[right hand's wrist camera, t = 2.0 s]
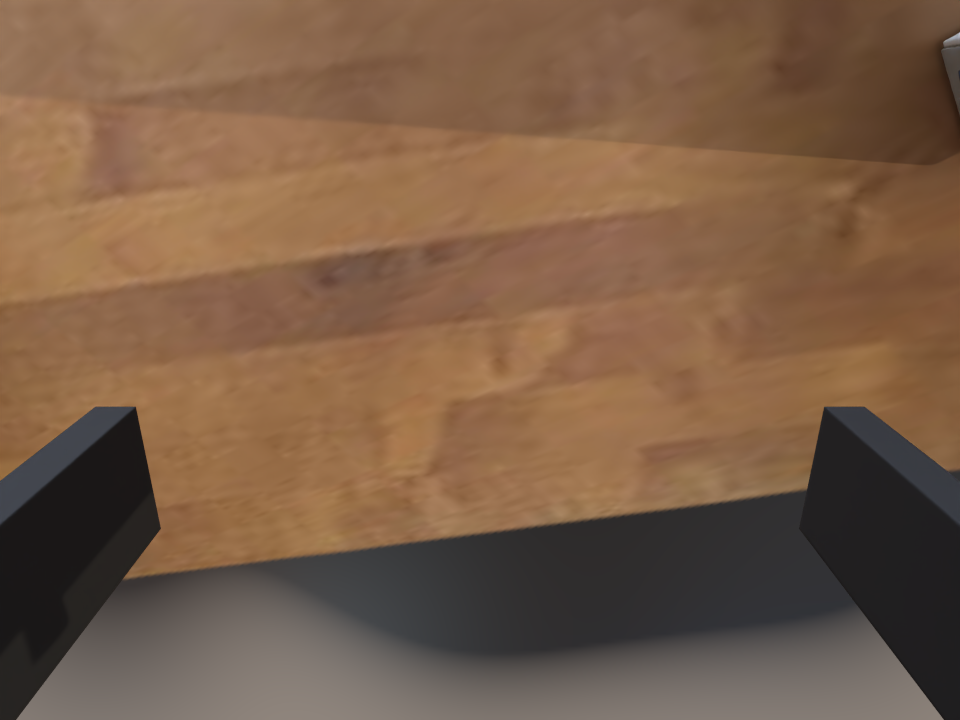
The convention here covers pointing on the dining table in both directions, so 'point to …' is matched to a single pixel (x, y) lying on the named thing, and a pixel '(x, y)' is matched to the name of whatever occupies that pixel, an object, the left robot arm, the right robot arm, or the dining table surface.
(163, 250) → the dining table surface
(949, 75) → the hard drive box
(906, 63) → the dining table surface
